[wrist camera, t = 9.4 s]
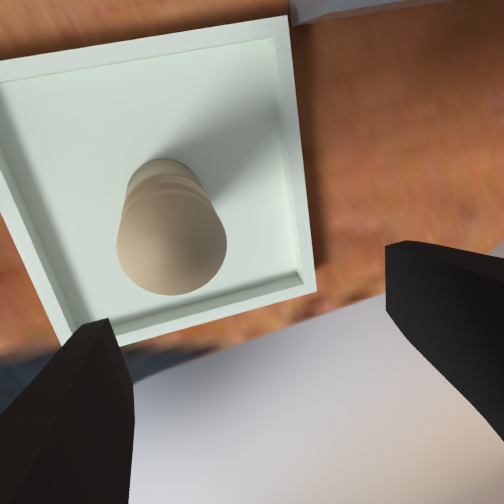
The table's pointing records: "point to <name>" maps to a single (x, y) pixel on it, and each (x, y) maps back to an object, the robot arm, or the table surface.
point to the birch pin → (169, 230)
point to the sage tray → (147, 149)
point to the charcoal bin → (345, 9)
